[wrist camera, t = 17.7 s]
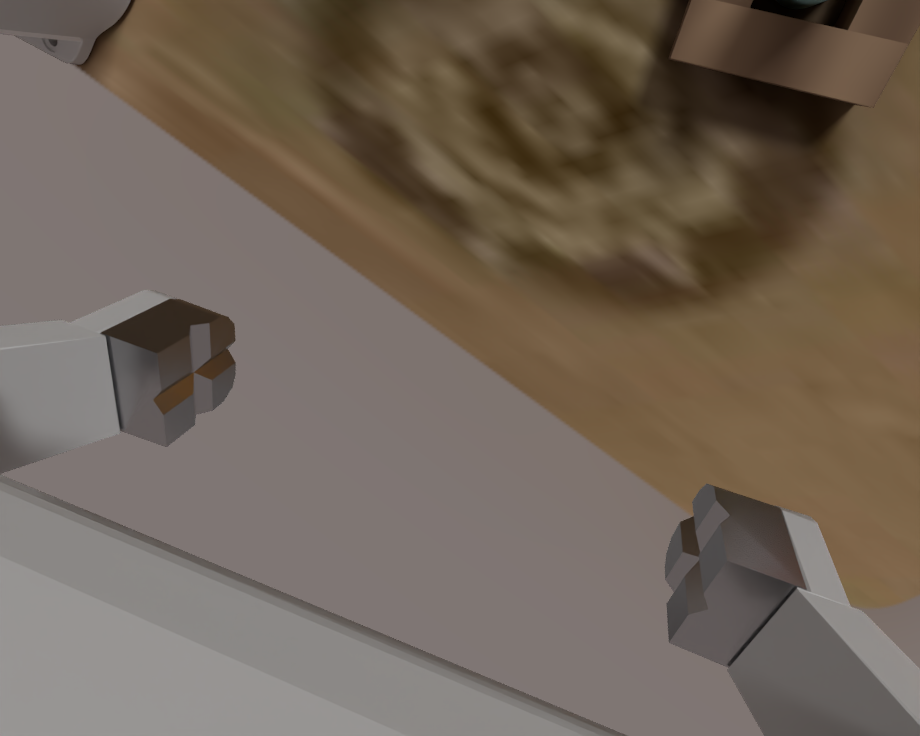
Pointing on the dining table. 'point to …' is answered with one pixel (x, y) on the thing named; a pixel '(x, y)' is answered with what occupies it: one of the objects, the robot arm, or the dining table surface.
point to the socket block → (801, 46)
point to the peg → (798, 3)
